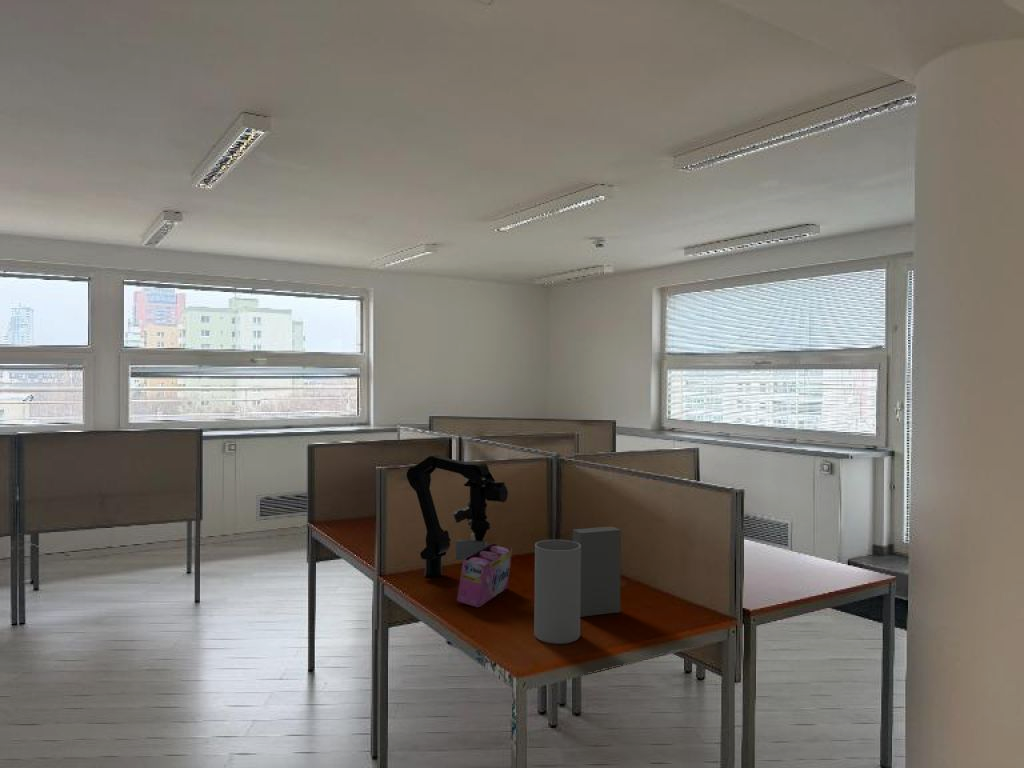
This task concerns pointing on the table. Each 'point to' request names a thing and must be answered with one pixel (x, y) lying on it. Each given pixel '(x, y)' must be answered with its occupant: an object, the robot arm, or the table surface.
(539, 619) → the cylinder vase
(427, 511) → the robot arm
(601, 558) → the upright grey panel
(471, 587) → the gum box
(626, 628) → the table surface
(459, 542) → the pusher
